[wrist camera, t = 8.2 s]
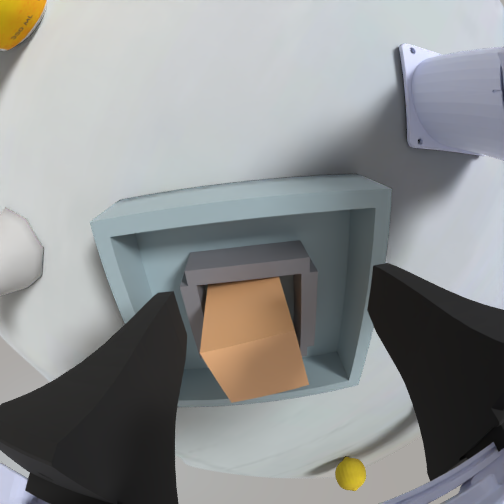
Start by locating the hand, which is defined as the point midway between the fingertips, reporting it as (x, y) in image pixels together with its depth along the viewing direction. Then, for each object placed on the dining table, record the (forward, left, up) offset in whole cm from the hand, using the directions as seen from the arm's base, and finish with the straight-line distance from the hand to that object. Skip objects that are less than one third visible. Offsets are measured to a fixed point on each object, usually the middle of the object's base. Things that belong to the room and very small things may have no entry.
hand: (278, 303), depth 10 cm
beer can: (+17, -21, -10) cm, 28 cm away
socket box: (+1, +5, -9) cm, 11 cm away
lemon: (-13, +46, -10) cm, 49 cm away
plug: (+1, +5, -8) cm, 10 cm away
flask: (+21, -1, -10) cm, 23 cm away
